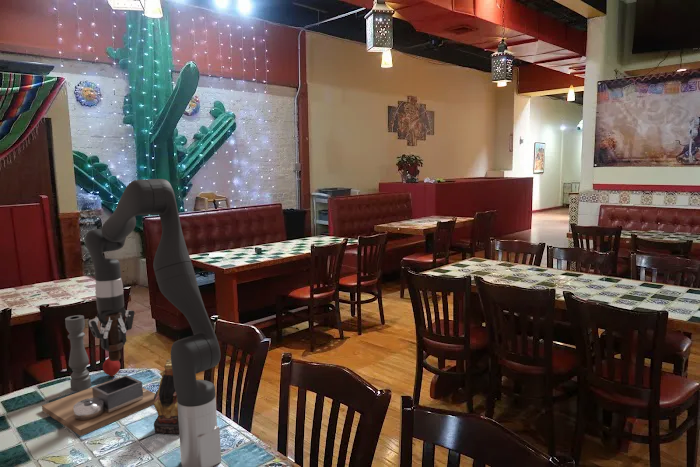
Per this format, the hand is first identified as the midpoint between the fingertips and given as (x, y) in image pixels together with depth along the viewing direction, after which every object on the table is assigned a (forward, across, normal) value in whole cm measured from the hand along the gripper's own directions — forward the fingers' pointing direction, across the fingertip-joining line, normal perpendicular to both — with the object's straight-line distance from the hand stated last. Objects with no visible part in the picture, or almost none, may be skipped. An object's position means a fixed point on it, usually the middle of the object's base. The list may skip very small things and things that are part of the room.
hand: (114, 346), depth 149 cm
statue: (+20, +3, -26) cm, 33 cm away
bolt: (+5, 0, 0) cm, 5 cm away
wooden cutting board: (+20, -3, +6) cm, 21 cm away
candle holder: (+20, 0, +25) cm, 32 cm away
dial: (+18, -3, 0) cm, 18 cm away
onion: (+20, +11, +25) cm, 34 cm away
